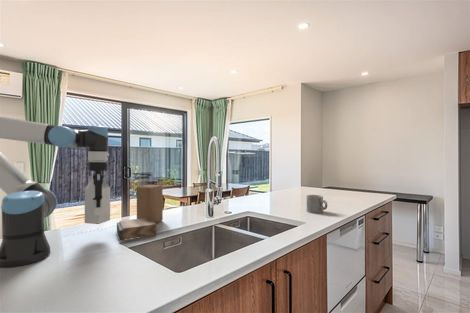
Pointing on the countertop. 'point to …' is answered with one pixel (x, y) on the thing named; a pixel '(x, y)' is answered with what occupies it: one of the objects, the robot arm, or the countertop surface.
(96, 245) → the countertop surface
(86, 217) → the milk carton
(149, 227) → the block
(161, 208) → the wooden block
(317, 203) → the coffee mug
